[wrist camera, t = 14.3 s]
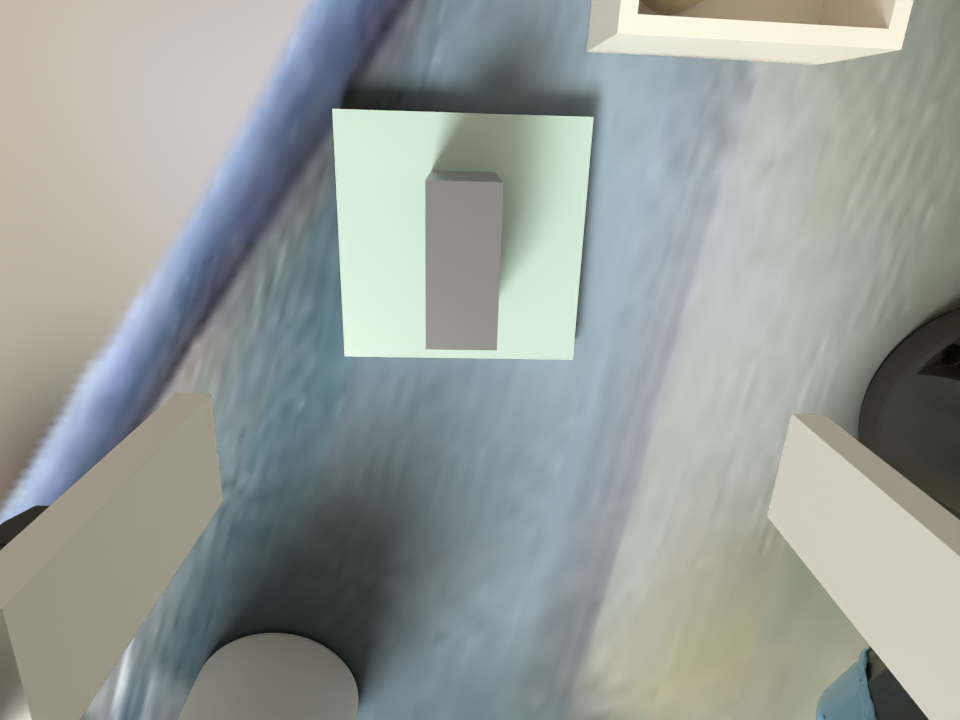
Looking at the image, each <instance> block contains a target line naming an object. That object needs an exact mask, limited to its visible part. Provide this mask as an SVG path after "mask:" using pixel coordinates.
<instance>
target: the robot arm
mask: <svg viewBox="0 0 960 720" xmlns="http://www.w3.org/2000/svg"><path fill="white" fill-rule="evenodd" d="M222 502H223V497H222V488H221V478H220V469H219V460H218V450H217V441H216V432H215V422H214V413H213V403H212V394H202V393H175V394H174V395H173V396H172V397H171V398H170V399H169V400H167V401H166V402H165V403H164V404H163V405H162V406H161V407H160V408H159V409H157V410H156V411H155V412H154V413H153V414H152V415H151V416H150V417H149V418H147V419H146V420H145V421H144V422H143V423H142V424H141V425H140V426H138V427H137V428H136V429H135V430H134V431H133V432H132V433H131V434H130V435H128V436H127V437H126V438H125V439H124V440H123V441H122V442H121V443H120V444H118V445H117V446H116V447H115V448H114V449H113V450H112V451H111V452H110V453H108V454H107V455H106V456H105V457H104V458H103V459H102V460H101V461H100V462H98V463H97V464H96V465H95V466H94V467H93V468H92V469H91V470H89V471H88V472H87V473H86V474H85V475H84V476H83V477H82V478H81V479H79V480H78V481H77V482H76V483H75V484H74V485H73V486H72V487H71V488H69V489H68V490H67V491H66V492H65V493H64V494H63V495H62V496H61V497H59V498H58V499H57V500H56V501H55V502H54V503H53V504H52V505H50V506H34V507H32V508H30V509H28V510H26V511H24V512H22V513H21V514H19V515H17V516H15V517H13V518H11V519H9V520H7V521H5V522H3V523H2V524H1V525H0V720H80V718H81V717H82V715H83V714H84V712H85V711H86V709H87V708H88V706H89V705H90V703H91V701H92V700H93V698H94V697H95V695H96V694H97V692H98V691H99V689H100V688H101V686H102V685H103V683H104V682H105V680H106V679H107V677H108V676H109V674H110V673H111V671H112V669H113V668H114V666H115V665H116V663H117V662H118V660H119V659H120V657H121V656H122V654H123V653H124V651H125V650H126V648H127V647H128V645H129V644H130V642H131V641H132V639H133V637H134V636H135V634H136V633H137V631H138V630H139V628H140V627H141V625H142V624H143V622H144V621H145V619H146V618H147V616H148V615H149V613H150V612H151V610H152V609H153V607H154V606H155V604H156V602H157V601H158V599H159V598H160V596H161V595H162V593H163V592H164V590H165V589H166V587H167V586H168V584H169V583H170V581H171V580H172V578H173V577H174V575H175V574H176V572H177V570H178V569H179V567H180V566H181V564H182V563H183V561H184V560H185V558H186V557H187V555H188V554H189V552H190V551H191V549H192V548H193V546H194V545H195V543H196V542H197V540H198V538H199V537H200V535H201V534H202V532H203V531H204V529H205V528H206V526H207V525H208V523H209V522H210V520H211V519H212V517H213V516H214V514H215V513H216V511H217V510H218V508H219V506H220V505H221V503H222ZM767 517H768V518H769V519H770V520H771V522H772V523H773V524H774V525H775V527H776V528H777V529H778V531H779V532H780V533H781V534H782V536H783V537H784V538H785V539H786V541H787V542H788V543H789V544H790V546H791V547H792V548H793V549H794V551H795V552H796V553H797V554H798V556H799V557H800V558H801V559H802V561H803V562H804V563H805V564H806V566H807V567H808V568H809V569H810V571H811V572H812V573H813V574H814V576H815V577H816V578H817V580H818V581H819V582H820V583H821V585H822V586H823V587H824V588H825V590H826V591H827V592H828V593H829V595H830V596H831V597H832V598H833V600H834V601H835V602H836V603H837V605H838V606H839V607H840V608H841V610H842V611H843V612H844V613H845V615H846V616H847V617H848V618H849V620H850V621H851V622H852V623H853V625H854V626H855V627H856V629H857V630H858V631H859V632H860V634H861V635H862V636H863V637H864V639H865V640H866V641H867V642H868V644H869V645H870V647H868V648H866V649H864V650H863V651H862V652H861V654H860V656H859V660H858V661H857V662H856V663H855V664H854V665H853V666H852V667H850V668H849V669H848V670H847V671H846V672H845V673H843V674H842V675H841V676H840V677H839V678H838V679H837V680H835V681H834V682H833V683H832V684H831V685H830V686H828V687H827V688H826V690H825V691H824V692H823V693H822V695H821V697H820V700H819V702H818V705H817V710H816V720H960V309H957V310H954V311H952V312H949V313H947V314H945V315H943V316H941V317H939V318H937V319H935V320H933V321H931V322H930V323H928V324H927V325H925V326H923V327H922V328H920V329H919V330H918V331H916V332H915V333H914V334H912V335H911V336H910V337H909V338H907V339H906V340H905V341H904V342H903V343H902V344H901V345H900V346H899V347H898V348H897V349H896V350H895V351H894V352H893V353H892V354H891V355H890V356H889V357H888V359H887V360H886V361H885V362H884V364H883V365H882V366H881V368H880V369H879V371H878V372H877V374H876V375H875V377H874V379H873V381H872V382H871V385H870V387H869V389H868V391H867V393H866V396H865V398H864V401H863V404H862V408H861V412H860V418H859V441H857V440H856V439H855V438H853V437H852V436H851V435H850V434H848V433H847V432H846V431H844V430H843V429H842V428H841V427H839V426H838V425H837V424H835V423H834V422H833V421H832V420H830V419H829V418H828V417H826V416H825V415H814V414H792V415H791V419H790V423H789V427H788V432H787V436H786V440H785V444H784V448H783V452H782V457H781V461H780V465H779V469H778V473H777V477H776V482H775V486H774V490H773V494H772V498H771V502H770V507H769V511H768V515H767Z"/></svg>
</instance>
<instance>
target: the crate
mask: <svg viewBox="0 0 960 720" xmlns="http://www.w3.org/2000/svg"><path fill="white" fill-rule="evenodd" d="M912 4H913V0H591V10H590V20H589V31H588V41H587V52H597V53H615V54H633V55H650V56H668V57H686V58H704V59H722V60H740V61H757V62H775V63H793V64H811V65H819V64H825V63H830V62H836V61H841V60H847V59H853V58H858V57H864V56H869V55H875V54H880V53H886V52H891V51H897V50H901V48H902V44H903V40H904V36H905V32H906V28H907V24H908V20H909V16H910V12H911V8H912Z"/></svg>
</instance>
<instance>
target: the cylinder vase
mask: <svg viewBox="0 0 960 720" xmlns="http://www.w3.org/2000/svg"><path fill="white" fill-rule="evenodd" d="M357 710H358V690H357V686H356V682H355V680H354V677H353V675H352V673H351V672H350V670H349V668H348V667H347V666H346V664H345V663H344V662H343V661H342V660H341V659H340V658H339V657H338V656H337V655H336V654H335V653H334V652H332V651H331V650H329V649H328V648H326V647H325V646H323V645H321V644H319V643H317V642H315V641H313V640H310V639H308V638H305V637H301V636H297V635H293V634H286V633H261V634H254V635H250V636H246V637H243V638H240V639H237V640H235V641H233V642H231V643H229V644H227V645H225V646H224V647H222V648H221V649H219V650H218V651H217V652H215V653H214V654H213V655H212V656H211V657H210V658H209V659H208V661H207V662H206V663H205V664H204V666H203V667H202V669H201V671H200V673H199V675H198V677H197V679H196V681H195V683H194V685H193V687H192V690H191V692H190V694H189V696H188V698H187V700H186V702H185V704H184V706H183V709H182V711H181V713H180V715H179V717H178V719H177V720H356V716H357Z"/></svg>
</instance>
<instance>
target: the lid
mask: <svg viewBox="0 0 960 720" xmlns="http://www.w3.org/2000/svg"><path fill="white" fill-rule="evenodd" d="M332 112H333V132H334V152H335V172H336V192H337V212H338V232H339V252H340V272H341V292H342V312H343V332H344V352H345V356H354V357H422V358H491V359H559V360H573V352H574V340H575V328H576V317H577V305H578V293H579V282H580V270H581V258H582V247H583V235H584V223H585V212H586V200H587V188H588V177H589V165H590V153H591V141H592V130H593V118H594V117H579V116H547V115H515V114H483V113H452V112H420V111H388V110H356V109H332Z"/></svg>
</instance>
